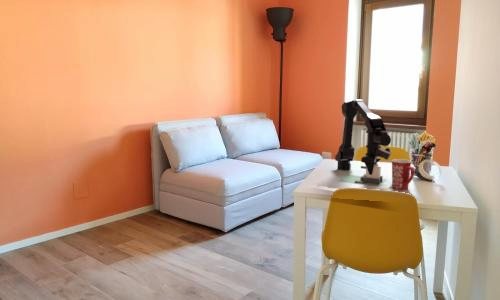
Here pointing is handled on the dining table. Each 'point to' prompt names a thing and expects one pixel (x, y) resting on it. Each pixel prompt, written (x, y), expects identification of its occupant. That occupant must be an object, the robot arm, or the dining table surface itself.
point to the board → (358, 180)
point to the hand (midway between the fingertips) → (371, 173)
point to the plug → (375, 172)
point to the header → (371, 179)
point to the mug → (401, 174)
